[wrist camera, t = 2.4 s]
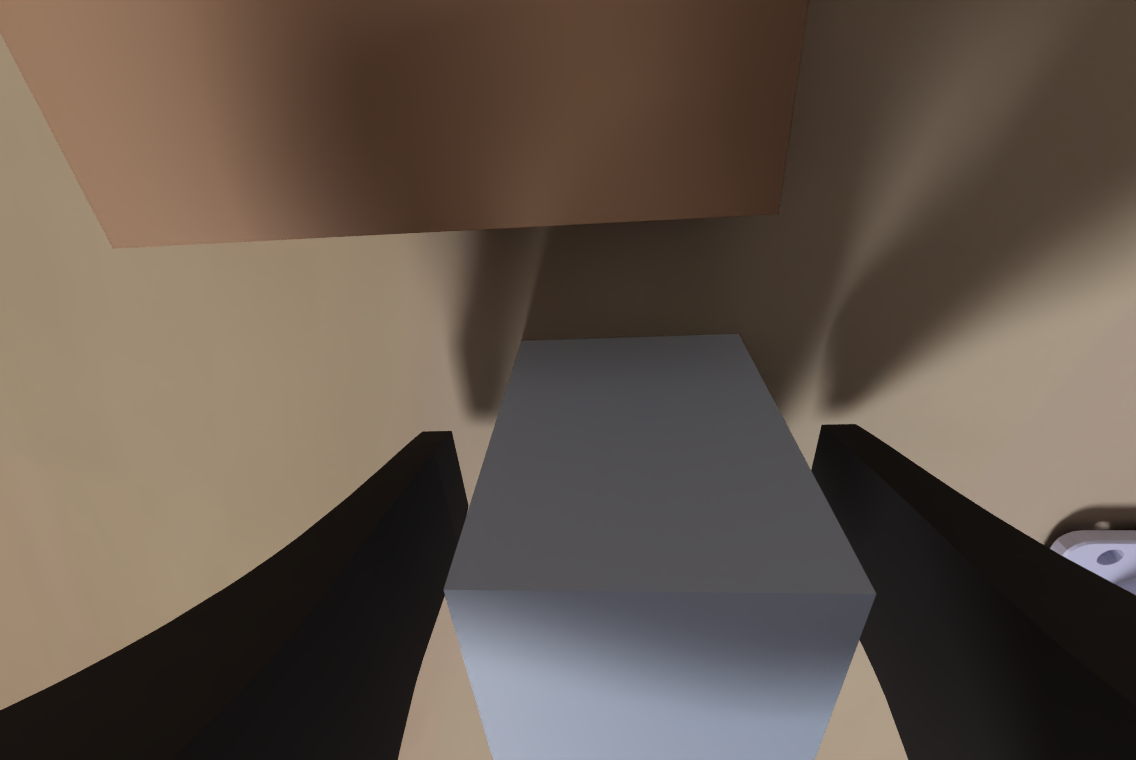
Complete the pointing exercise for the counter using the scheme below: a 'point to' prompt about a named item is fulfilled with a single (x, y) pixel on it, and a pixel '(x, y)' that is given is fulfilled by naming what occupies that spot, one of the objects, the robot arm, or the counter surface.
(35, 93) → the base board
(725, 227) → the counter surface
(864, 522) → the robot arm
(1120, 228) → the counter surface
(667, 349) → the block
